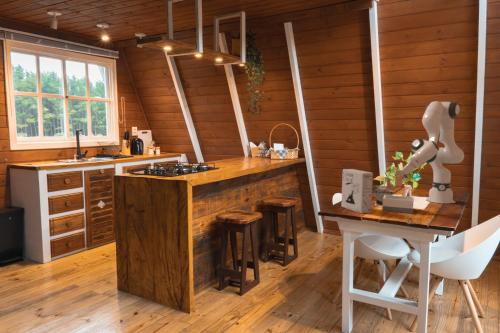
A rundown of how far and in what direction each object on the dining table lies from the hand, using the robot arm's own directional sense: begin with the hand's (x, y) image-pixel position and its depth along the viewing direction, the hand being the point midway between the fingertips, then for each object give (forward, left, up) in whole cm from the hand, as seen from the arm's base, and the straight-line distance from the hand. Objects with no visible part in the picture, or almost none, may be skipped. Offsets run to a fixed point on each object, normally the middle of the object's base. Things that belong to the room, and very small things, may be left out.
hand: (397, 176), depth 252 cm
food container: (-15, -9, -22) cm, 28 cm away
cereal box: (+11, -24, -22) cm, 34 cm away
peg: (0, +1, -6) cm, 6 cm away
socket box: (0, +1, -22) cm, 22 cm away
